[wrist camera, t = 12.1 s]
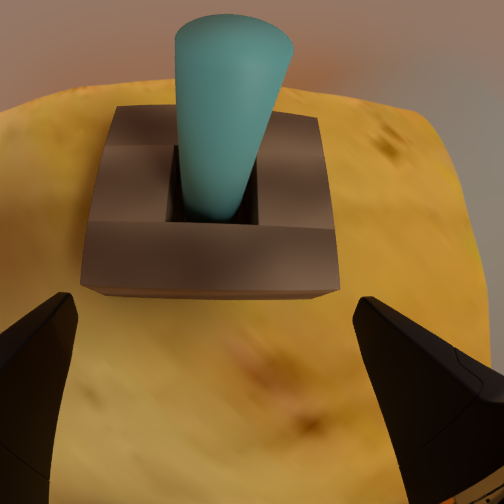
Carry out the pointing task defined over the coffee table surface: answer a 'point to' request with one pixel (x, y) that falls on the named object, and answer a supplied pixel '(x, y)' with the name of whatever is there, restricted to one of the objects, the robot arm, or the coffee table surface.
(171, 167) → the hole block
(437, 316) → the coffee table surface
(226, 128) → the peg
